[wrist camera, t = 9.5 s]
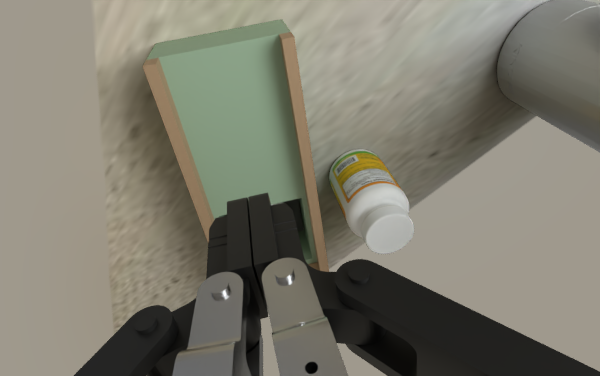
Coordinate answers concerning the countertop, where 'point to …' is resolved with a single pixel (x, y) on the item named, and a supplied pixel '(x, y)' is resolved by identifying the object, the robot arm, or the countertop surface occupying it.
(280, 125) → the runway
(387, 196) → the supplement bottle
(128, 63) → the countertop surface
